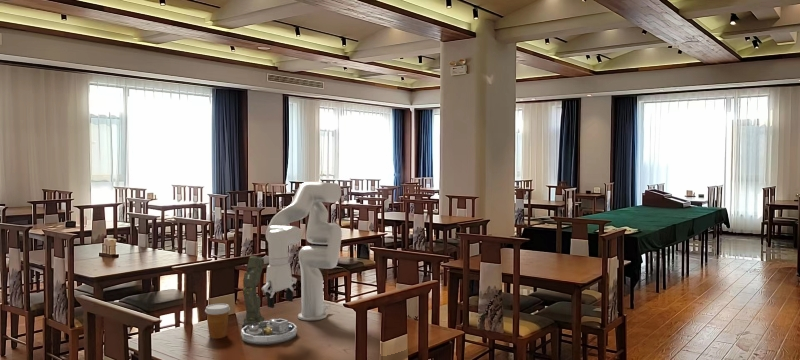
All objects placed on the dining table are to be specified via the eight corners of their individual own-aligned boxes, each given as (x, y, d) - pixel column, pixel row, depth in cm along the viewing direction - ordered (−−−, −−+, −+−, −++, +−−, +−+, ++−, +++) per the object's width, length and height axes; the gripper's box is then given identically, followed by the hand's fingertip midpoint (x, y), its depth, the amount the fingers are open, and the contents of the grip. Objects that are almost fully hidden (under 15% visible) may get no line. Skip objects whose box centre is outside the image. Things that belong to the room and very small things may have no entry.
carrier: (271, 325, 247) (271, 314, 247) (307, 334, 235) (307, 322, 235) (230, 338, 230) (230, 326, 230) (267, 348, 218) (266, 335, 218)
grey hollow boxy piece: (280, 332, 233) (280, 317, 233) (290, 335, 230) (290, 320, 229) (268, 336, 228) (268, 321, 228) (279, 339, 225) (279, 323, 224)
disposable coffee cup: (200, 338, 230) (199, 308, 230) (215, 331, 239) (215, 302, 238) (220, 340, 227) (219, 310, 226) (235, 333, 236) (234, 304, 235)
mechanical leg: (251, 329, 239) (257, 255, 244) (235, 328, 240) (242, 254, 246) (265, 327, 252) (271, 257, 258) (249, 326, 253) (256, 257, 259)
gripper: (288, 255, 237) (289, 297, 238) (255, 264, 223) (256, 308, 224) (301, 258, 232) (303, 300, 234) (268, 266, 218) (270, 311, 220)
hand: (280, 304), depth 229 cm, fingers open, 9 cm apart
